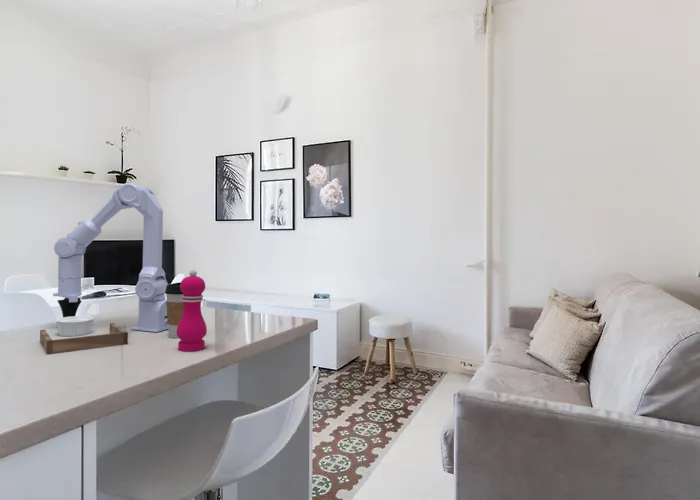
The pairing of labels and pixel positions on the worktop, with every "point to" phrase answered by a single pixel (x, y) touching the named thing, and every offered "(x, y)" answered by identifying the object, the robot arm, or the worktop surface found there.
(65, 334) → the ramekin
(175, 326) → the coffee cup
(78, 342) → the box
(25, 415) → the worktop surface
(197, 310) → the pepper mill
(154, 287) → the robot arm
